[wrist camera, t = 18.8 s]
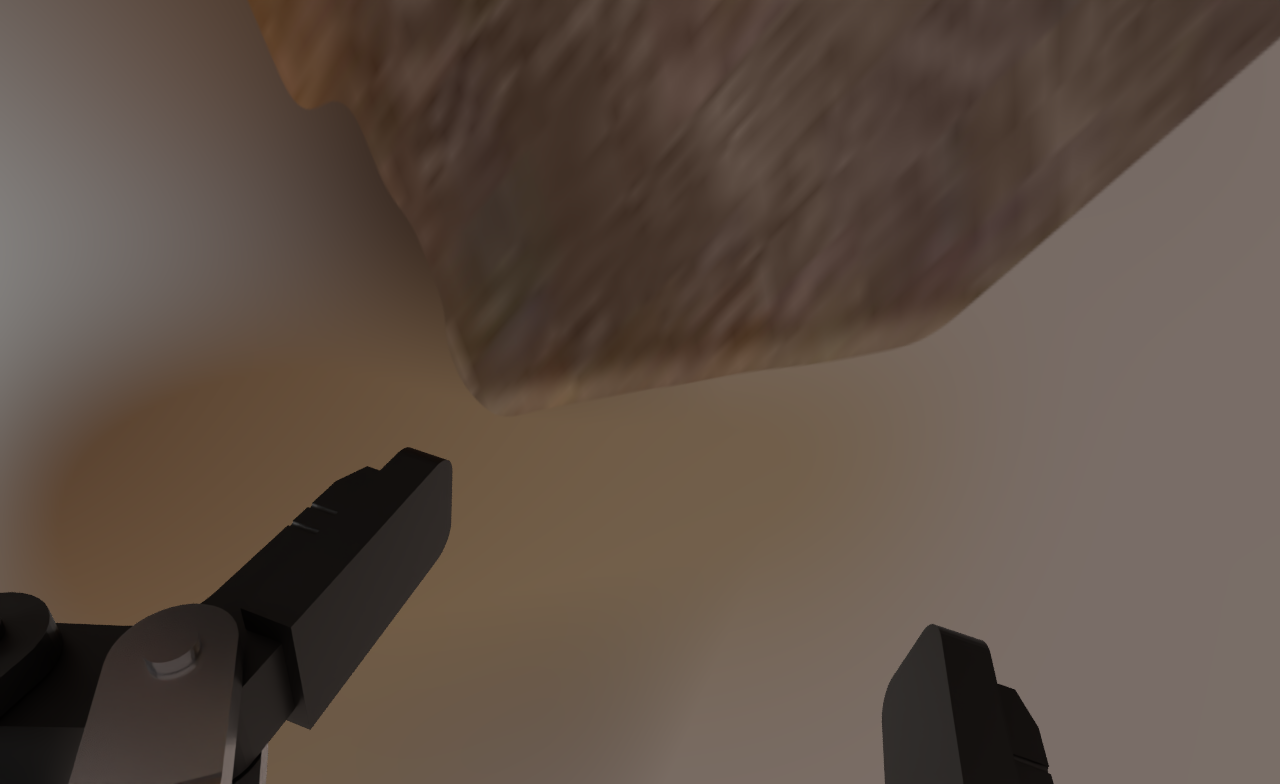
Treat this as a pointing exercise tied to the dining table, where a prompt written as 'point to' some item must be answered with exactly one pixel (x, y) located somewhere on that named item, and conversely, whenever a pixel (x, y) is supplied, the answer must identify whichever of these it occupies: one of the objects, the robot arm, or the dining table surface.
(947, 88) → the dining table surface
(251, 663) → the robot arm
